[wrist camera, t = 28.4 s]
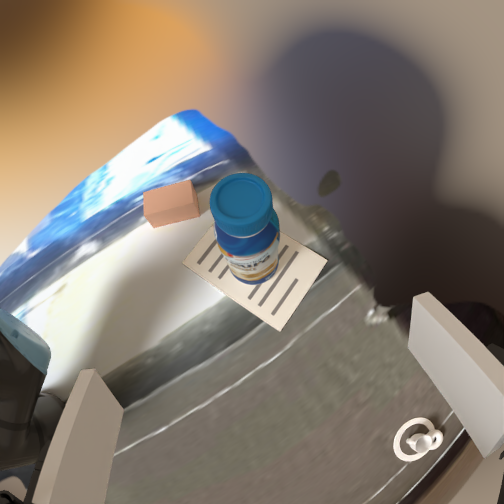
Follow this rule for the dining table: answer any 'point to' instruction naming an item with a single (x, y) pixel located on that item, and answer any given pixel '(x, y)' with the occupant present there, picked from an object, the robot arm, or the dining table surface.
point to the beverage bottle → (246, 227)
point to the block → (171, 204)
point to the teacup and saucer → (424, 440)
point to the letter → (268, 293)
